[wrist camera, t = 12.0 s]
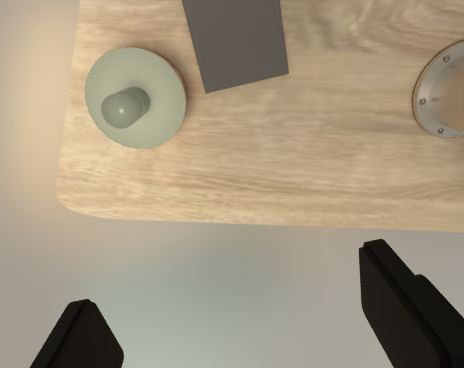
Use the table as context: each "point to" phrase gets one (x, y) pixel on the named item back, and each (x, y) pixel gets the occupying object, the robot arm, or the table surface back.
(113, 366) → the robot arm
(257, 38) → the mat
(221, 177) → the table surface
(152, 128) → the lid
